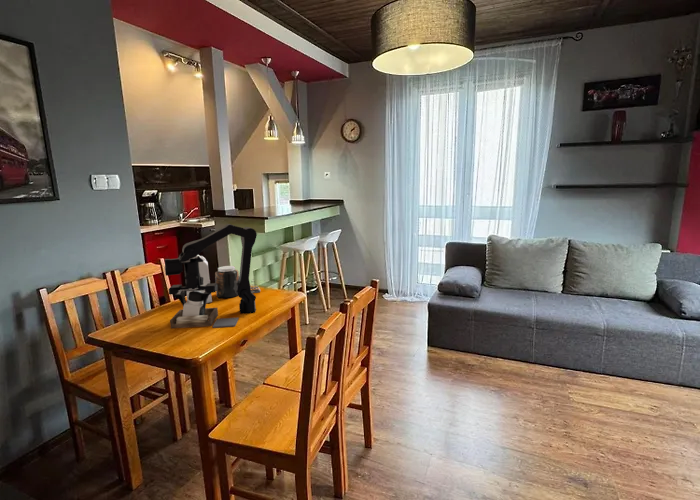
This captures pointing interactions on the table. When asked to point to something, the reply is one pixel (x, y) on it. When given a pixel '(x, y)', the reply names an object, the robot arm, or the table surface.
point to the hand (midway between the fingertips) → (195, 307)
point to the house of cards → (255, 289)
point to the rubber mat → (225, 322)
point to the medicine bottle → (194, 304)
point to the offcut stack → (192, 319)
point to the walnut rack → (208, 311)
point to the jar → (226, 281)
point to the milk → (205, 274)
